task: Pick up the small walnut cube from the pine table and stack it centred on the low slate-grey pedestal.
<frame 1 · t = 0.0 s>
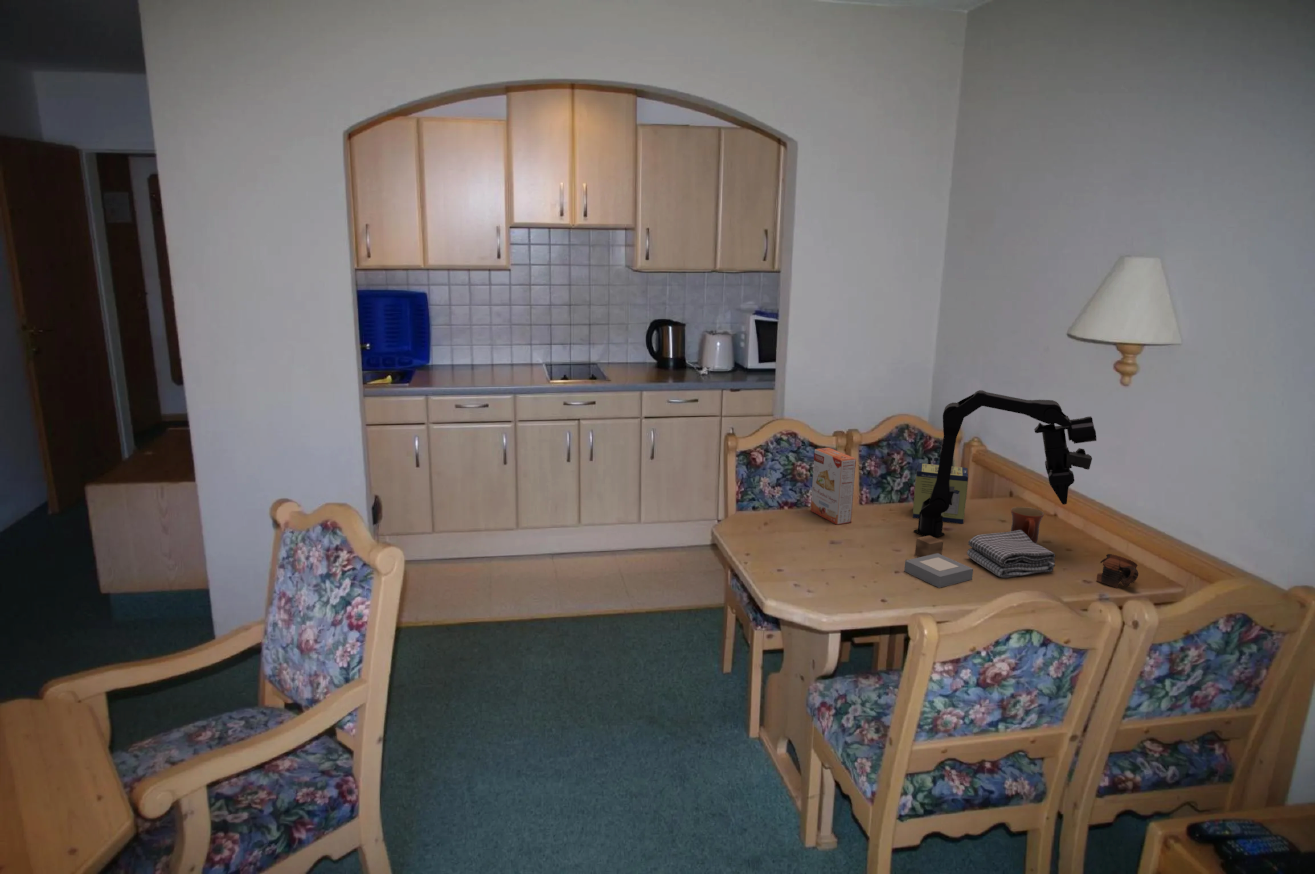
hand: (1063, 499, 238), 15 cm above the table, tool pointing down, fingers open, 9 cm apart
towel: (1009, 567, 230), on the table
cracker box: (830, 517, 266), on the table
walnut cube: (928, 556, 236), on the table
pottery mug: (1117, 584, 220), on the table
protein box: (937, 516, 270), on the table
pedestal: (937, 575, 223), on the table
mug: (1024, 547, 245), on the table
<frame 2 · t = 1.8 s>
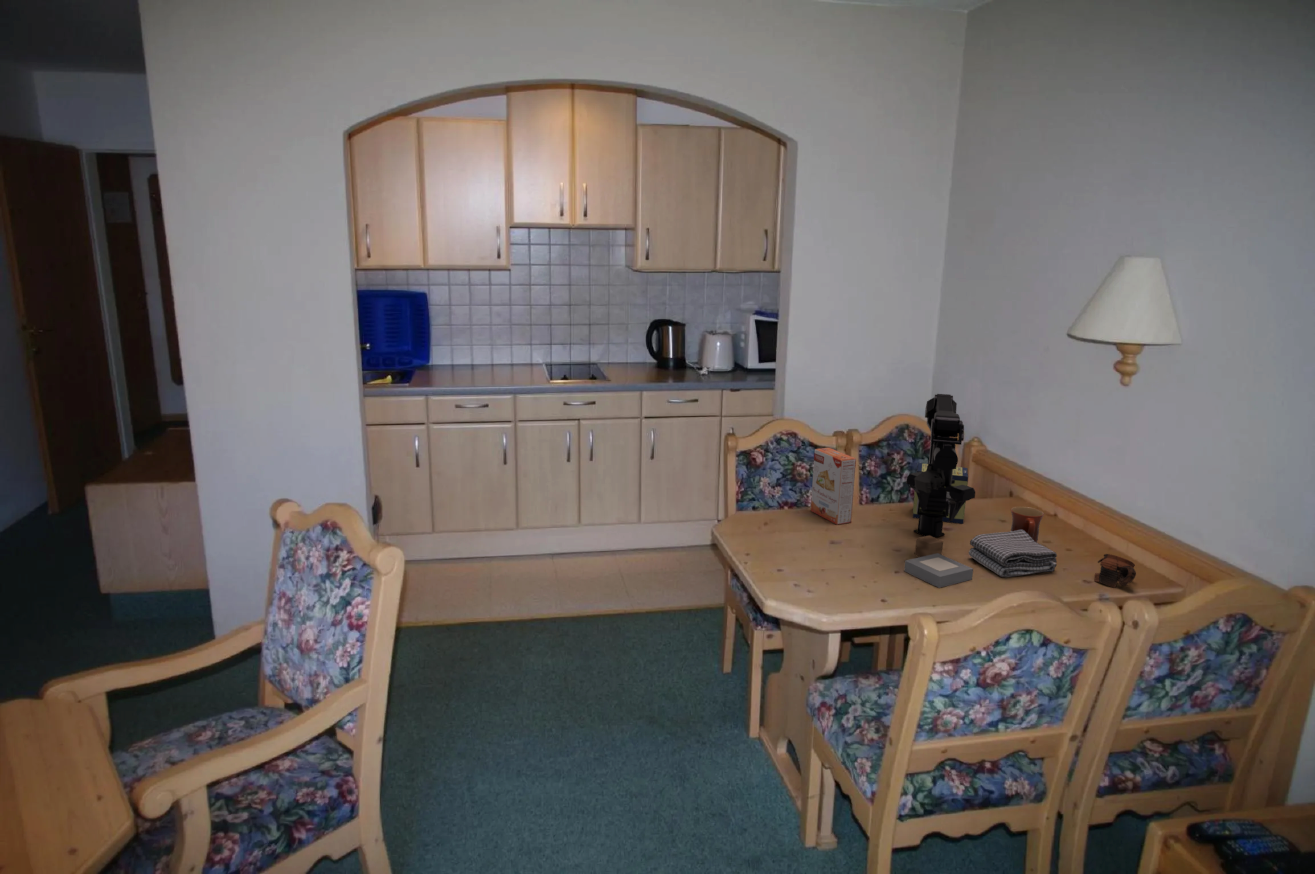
hand: (936, 515, 232), 12 cm above the table, tool pointing down, fingers open, 9 cm apart
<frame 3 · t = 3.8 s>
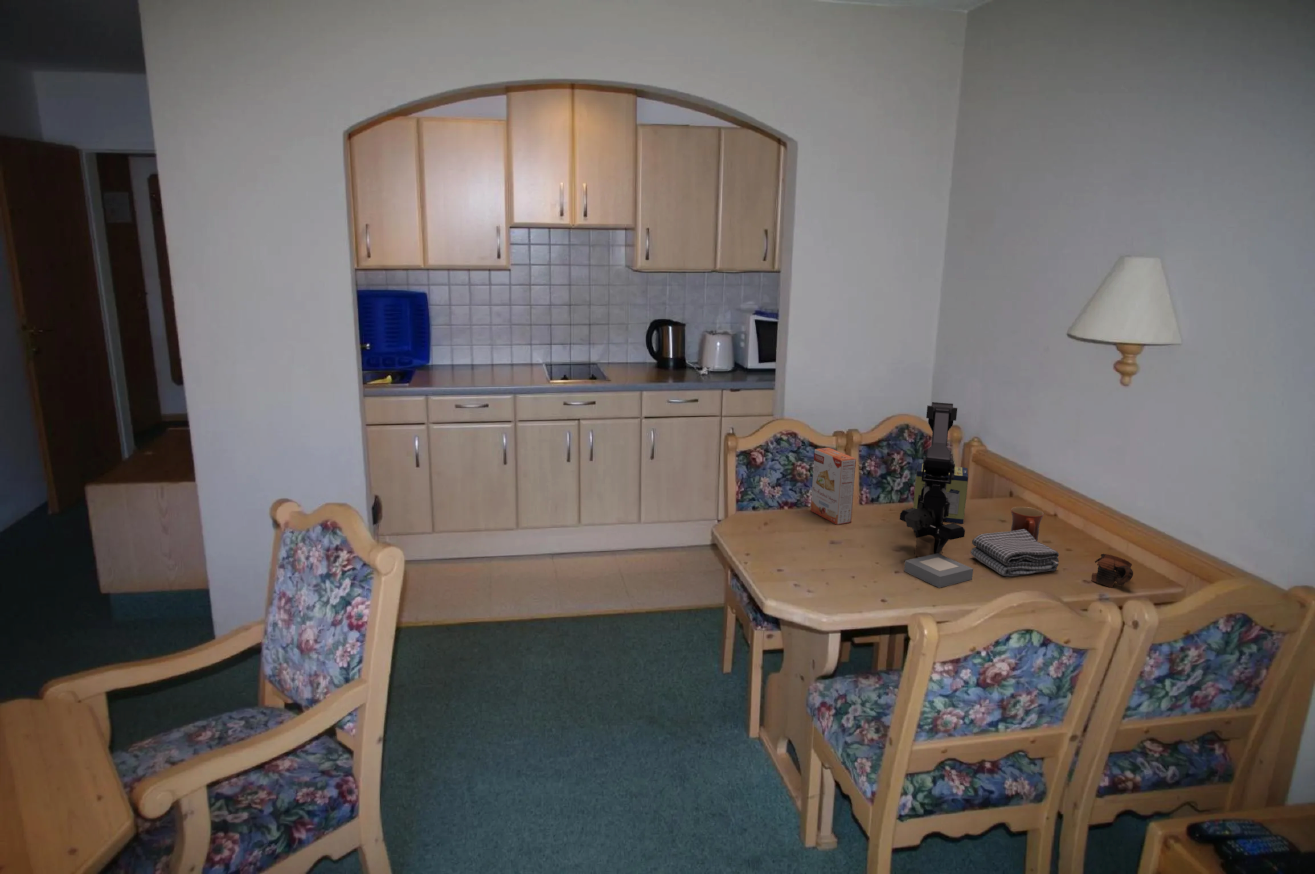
hand: (928, 552, 235), 1 cm above the table, tool pointing down, fingers closed on walnut cube, 5 cm apart
walnut cube: (928, 556, 236), on the table, touching gripper
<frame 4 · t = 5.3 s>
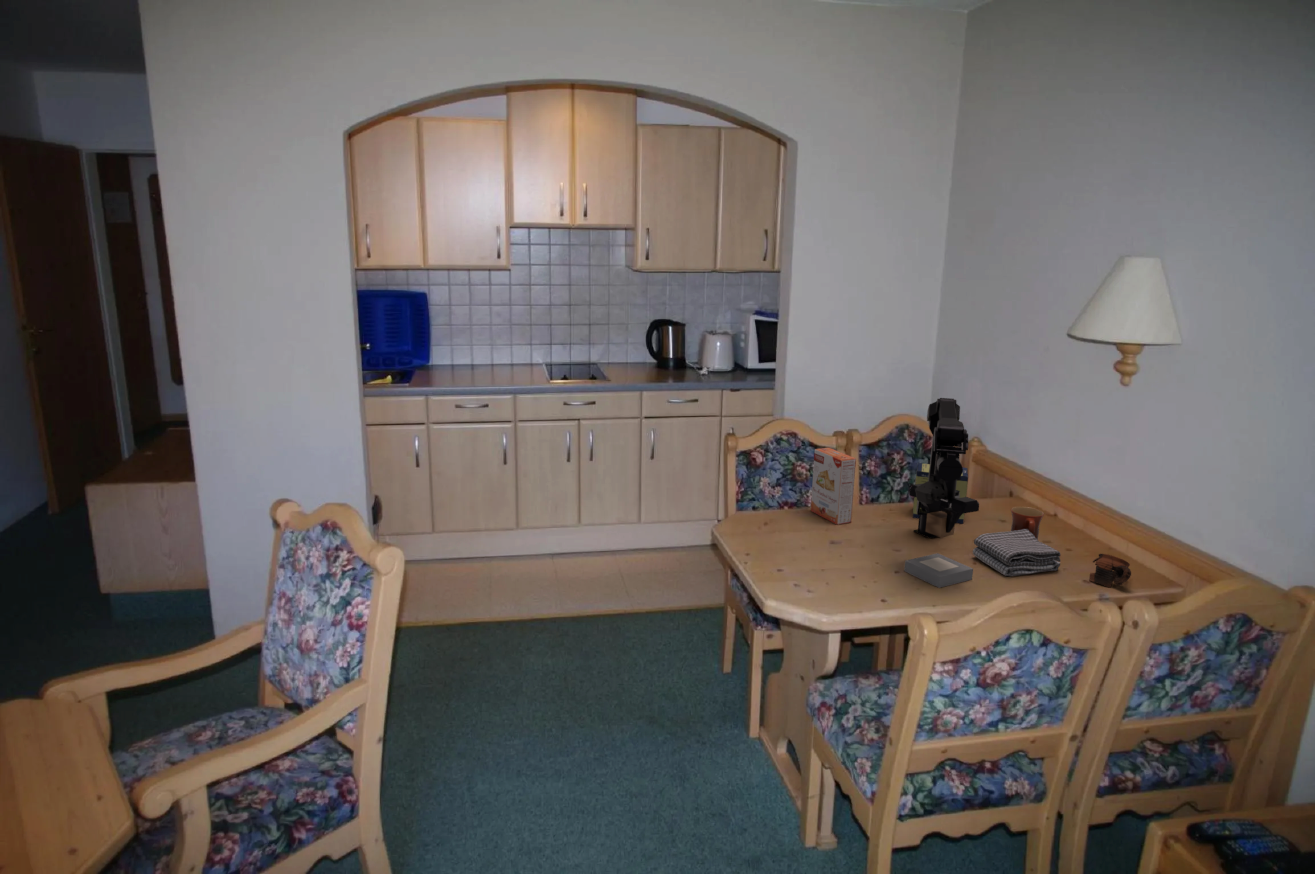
hand: (940, 529, 222), 12 cm above the table, tool pointing down, fingers closed on walnut cube, 5 cm apart
walnut cube: (939, 533, 222), point 11 cm above the table, touching gripper
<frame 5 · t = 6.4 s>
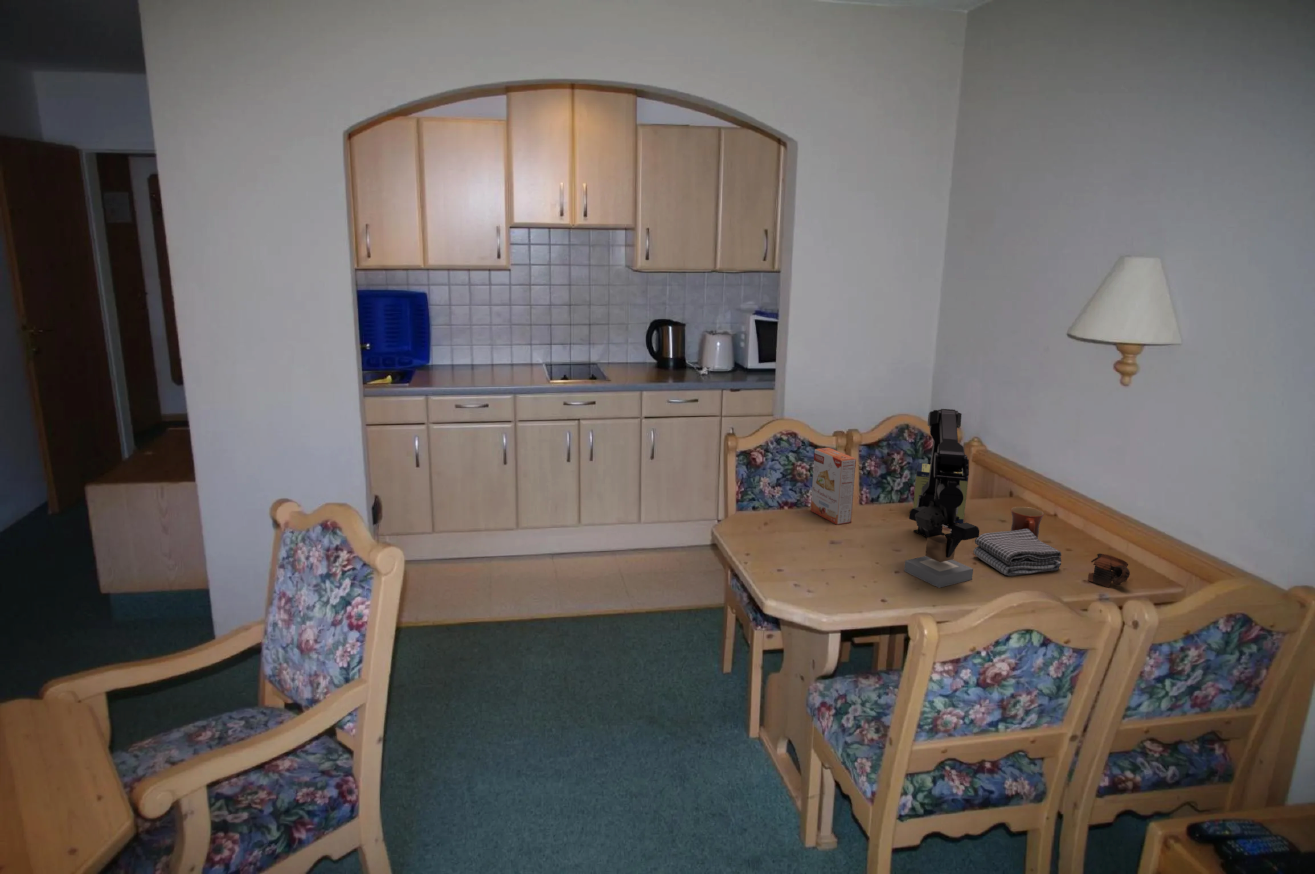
hand: (940, 553, 221), 6 cm above the table, tool pointing down, fingers closed on walnut cube, 5 cm apart
walnut cube: (939, 557, 221), point 5 cm above the table, touching gripper
when the fingers open (4 cm above the table, at t = 7.1 s): walnut cube stays where it is, resting on pedestal.
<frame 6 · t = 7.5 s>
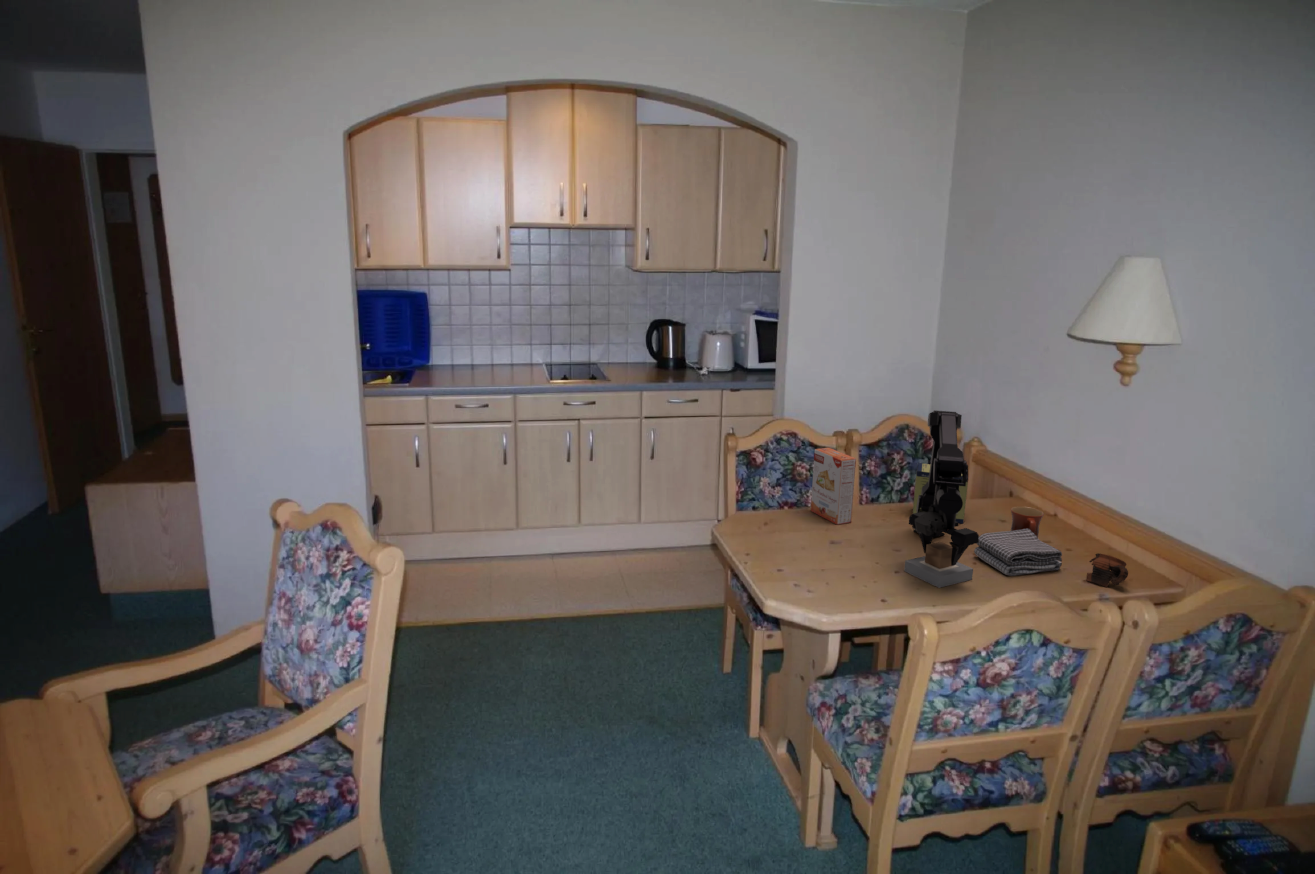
hand: (939, 559, 222), 4 cm above the table, tool pointing down, fingers open, 9 cm apart
walnut cube: (938, 563, 222), point 3 cm above the table, touching pedestal
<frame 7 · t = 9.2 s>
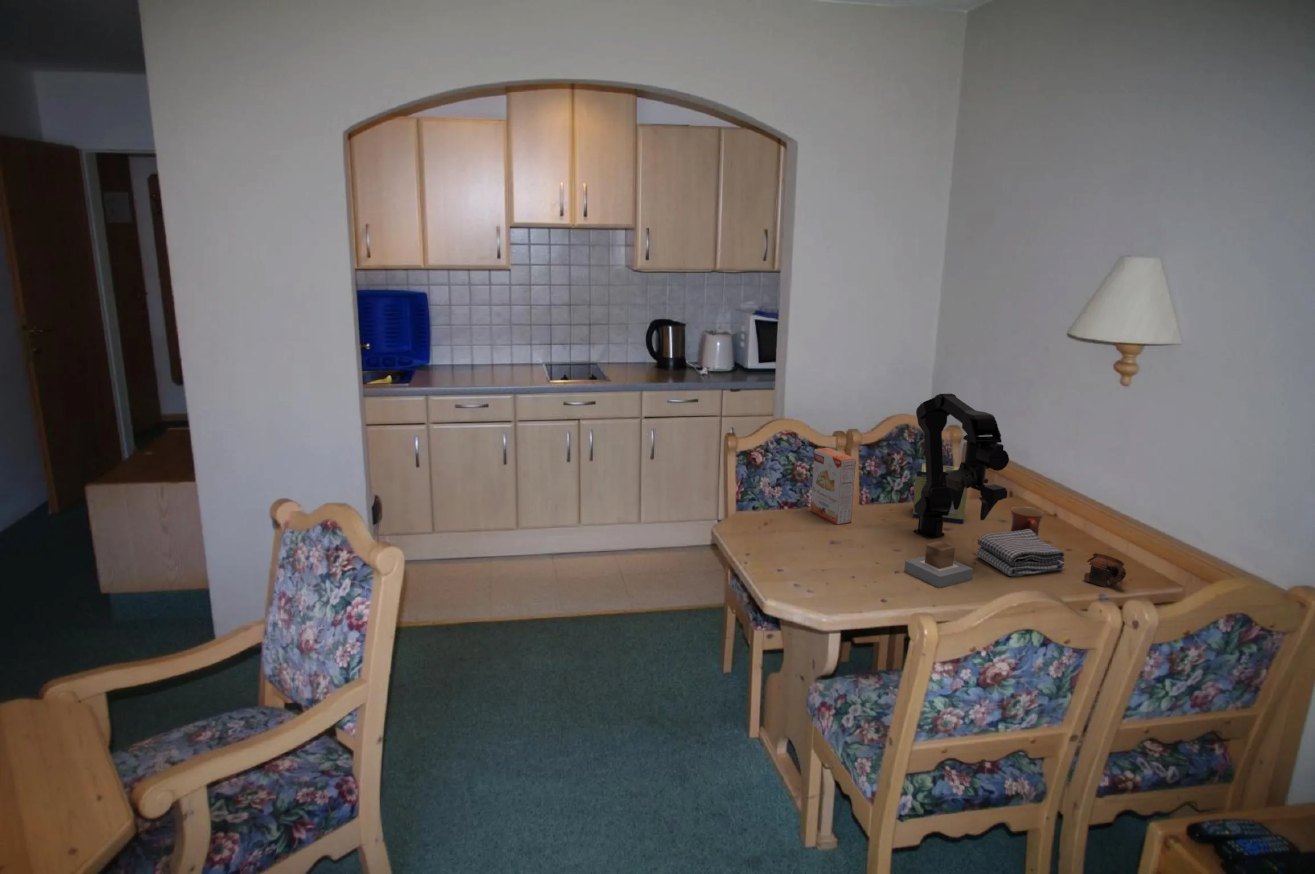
hand: (969, 514, 232), 13 cm above the table, tool pointing down, fingers open, 9 cm apart
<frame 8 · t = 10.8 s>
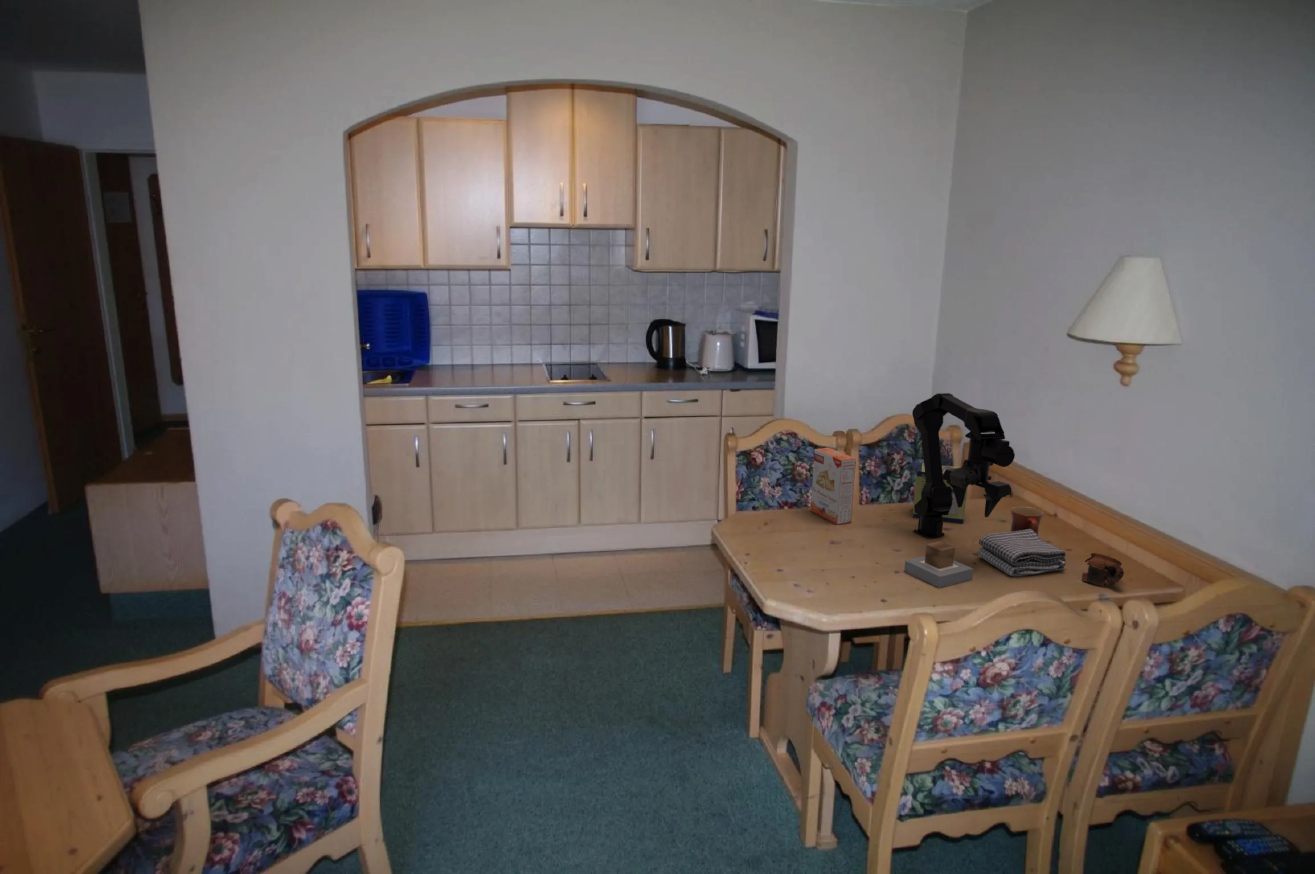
hand: (972, 511, 233), 13 cm above the table, tool pointing down, fingers open, 9 cm apart
at the end: walnut cube inside the target area on the pedestal (0.0 cm from its centre), point 3.1 cm above the pedestal's base; walnut cube tilted 0°; the gripper is holding nothing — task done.
